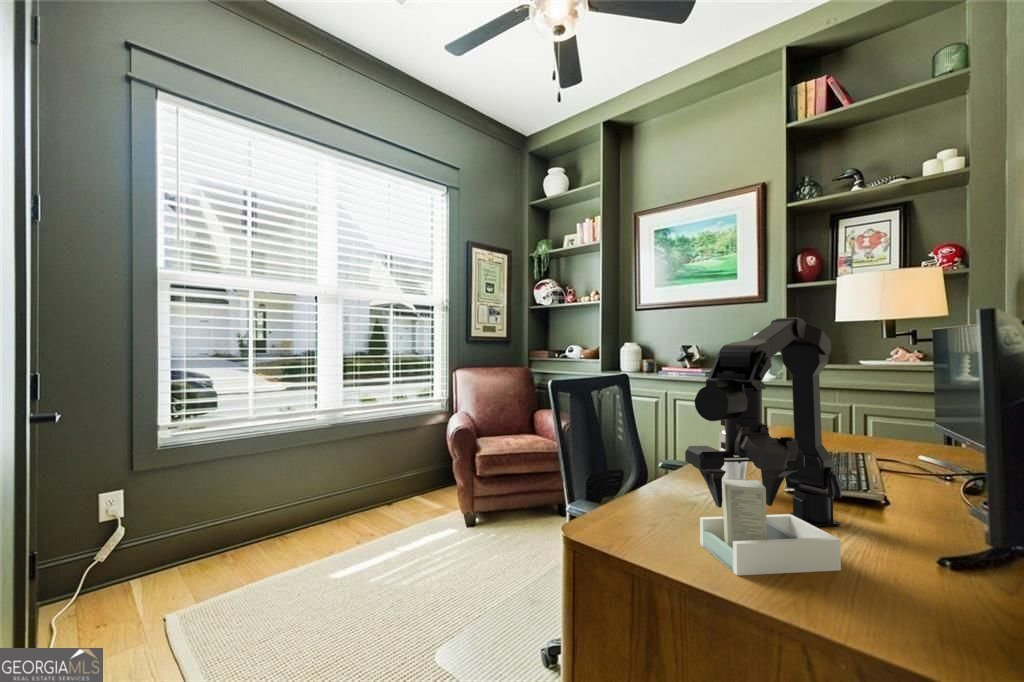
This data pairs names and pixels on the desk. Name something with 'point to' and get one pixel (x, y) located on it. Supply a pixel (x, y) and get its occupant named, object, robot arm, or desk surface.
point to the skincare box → (744, 510)
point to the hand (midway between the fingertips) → (743, 506)
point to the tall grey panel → (777, 532)
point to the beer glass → (731, 464)
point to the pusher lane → (774, 548)
